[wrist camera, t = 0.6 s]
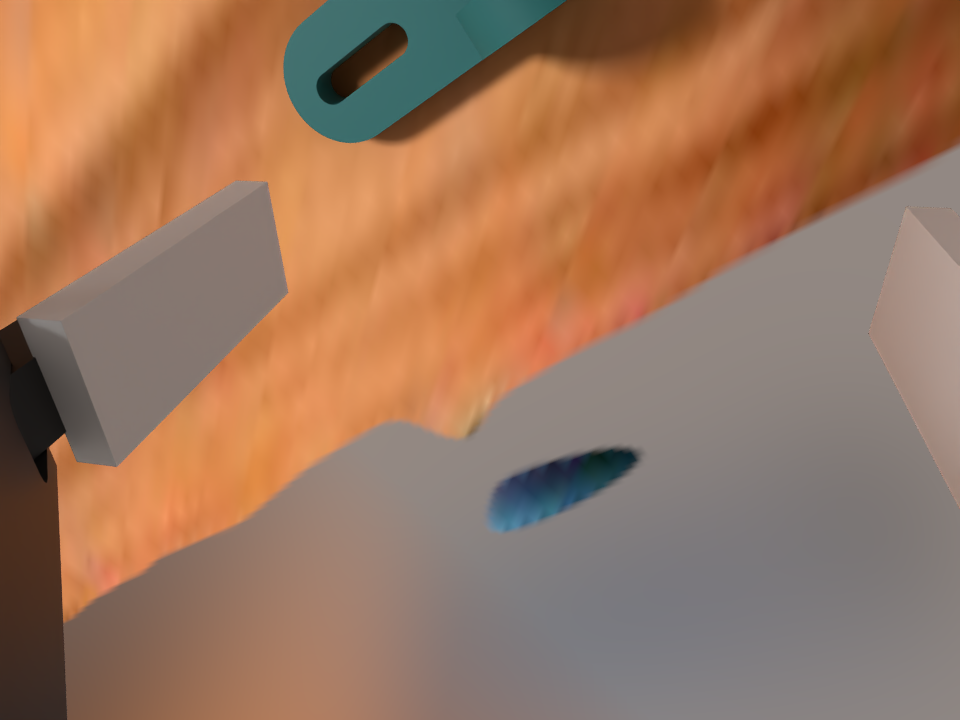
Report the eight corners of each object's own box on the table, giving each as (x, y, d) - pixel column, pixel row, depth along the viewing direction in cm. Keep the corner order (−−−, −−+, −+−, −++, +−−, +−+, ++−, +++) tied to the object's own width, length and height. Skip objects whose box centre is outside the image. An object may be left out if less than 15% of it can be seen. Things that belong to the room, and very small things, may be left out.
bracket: (542, -173, 33) (513, -199, 26) (614, -35, 35) (603, -26, 28) (278, 53, 41) (204, 77, 34) (349, 154, 43) (293, 195, 36)
